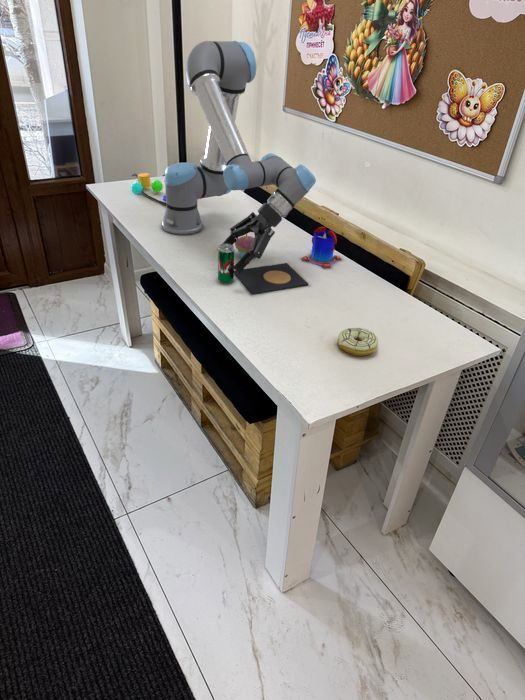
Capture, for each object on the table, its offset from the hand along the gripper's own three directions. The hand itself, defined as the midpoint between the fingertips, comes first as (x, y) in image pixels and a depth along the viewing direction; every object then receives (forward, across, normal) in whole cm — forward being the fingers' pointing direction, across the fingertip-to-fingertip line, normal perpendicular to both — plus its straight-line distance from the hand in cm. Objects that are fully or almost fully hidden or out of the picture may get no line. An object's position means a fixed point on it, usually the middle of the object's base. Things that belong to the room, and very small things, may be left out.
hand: (228, 260), depth 160 cm
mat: (-5, +3, +15) cm, 16 cm away
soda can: (+6, 0, +5) cm, 7 cm away
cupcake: (-4, -15, +14) cm, 21 cm away
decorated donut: (-9, +46, +19) cm, 51 cm away
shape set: (+1, -82, +9) cm, 83 cm away
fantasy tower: (-22, -5, +32) cm, 39 cm away
